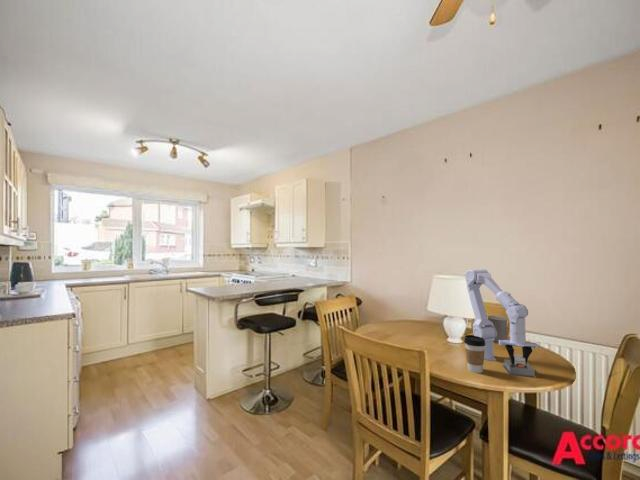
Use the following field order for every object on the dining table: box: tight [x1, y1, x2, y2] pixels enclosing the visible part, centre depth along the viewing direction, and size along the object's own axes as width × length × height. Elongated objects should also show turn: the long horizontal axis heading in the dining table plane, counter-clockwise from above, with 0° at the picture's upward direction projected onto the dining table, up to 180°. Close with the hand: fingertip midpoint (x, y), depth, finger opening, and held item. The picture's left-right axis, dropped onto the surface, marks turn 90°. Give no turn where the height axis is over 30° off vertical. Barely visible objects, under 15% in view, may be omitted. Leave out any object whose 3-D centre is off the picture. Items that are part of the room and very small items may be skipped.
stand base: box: [502, 358, 538, 378], centre depth 127 cm, size 10×10×4 cm
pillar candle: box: [487, 315, 508, 344], centre depth 168 cm, size 10×10×15 cm
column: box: [512, 353, 526, 367], centre depth 127 cm, size 4×4×7 cm
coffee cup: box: [463, 334, 485, 374], centre depth 129 cm, size 8×8×15 cm
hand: (518, 362), depth 127 cm, fingers closed on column, 4 cm apart
